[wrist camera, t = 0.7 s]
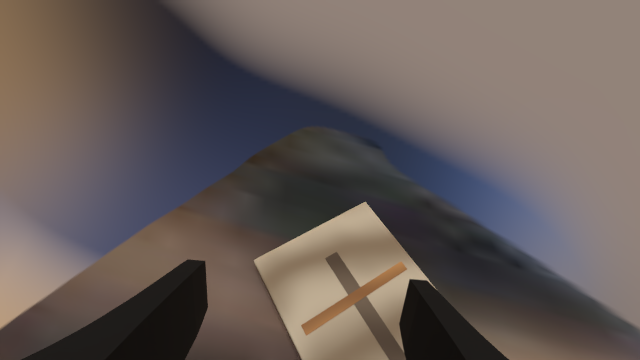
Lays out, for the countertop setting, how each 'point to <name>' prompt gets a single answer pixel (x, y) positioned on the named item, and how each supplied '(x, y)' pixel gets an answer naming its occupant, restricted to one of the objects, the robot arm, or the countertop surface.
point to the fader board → (342, 288)
